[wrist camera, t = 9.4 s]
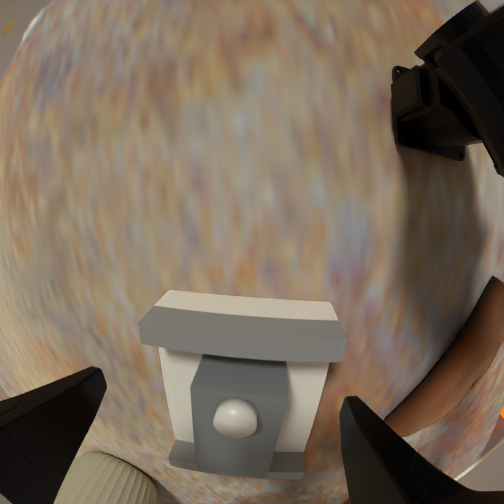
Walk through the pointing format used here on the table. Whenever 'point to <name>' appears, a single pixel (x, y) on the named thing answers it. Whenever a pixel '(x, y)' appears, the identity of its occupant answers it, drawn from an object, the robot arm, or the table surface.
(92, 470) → the canister
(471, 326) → the sunglasses case
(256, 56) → the table surface
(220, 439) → the grey knobbed block
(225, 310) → the stand
